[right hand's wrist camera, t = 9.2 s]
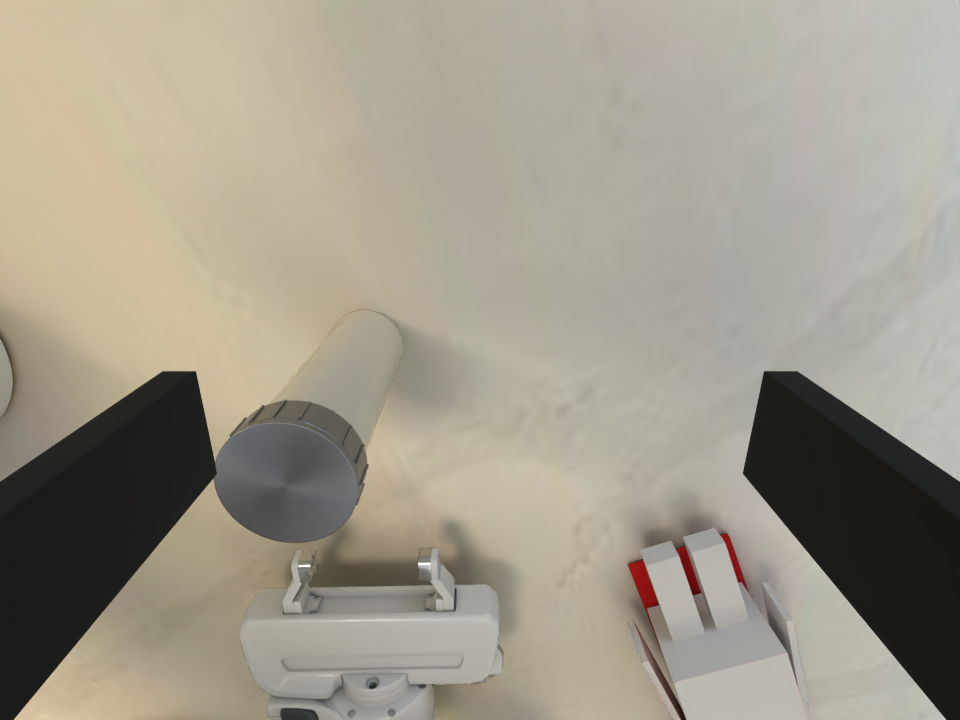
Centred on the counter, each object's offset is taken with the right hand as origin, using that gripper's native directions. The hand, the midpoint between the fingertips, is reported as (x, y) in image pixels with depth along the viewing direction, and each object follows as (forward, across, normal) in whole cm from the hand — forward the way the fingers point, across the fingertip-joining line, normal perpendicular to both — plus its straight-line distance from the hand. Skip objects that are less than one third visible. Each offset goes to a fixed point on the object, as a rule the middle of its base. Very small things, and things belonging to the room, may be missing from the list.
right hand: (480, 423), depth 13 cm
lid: (+9, +9, +8) cm, 15 cm away
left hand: (+21, +9, +22) cm, 32 cm away
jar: (+27, +9, +8) cm, 30 cm away
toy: (+28, -22, +38) cm, 51 cm away
